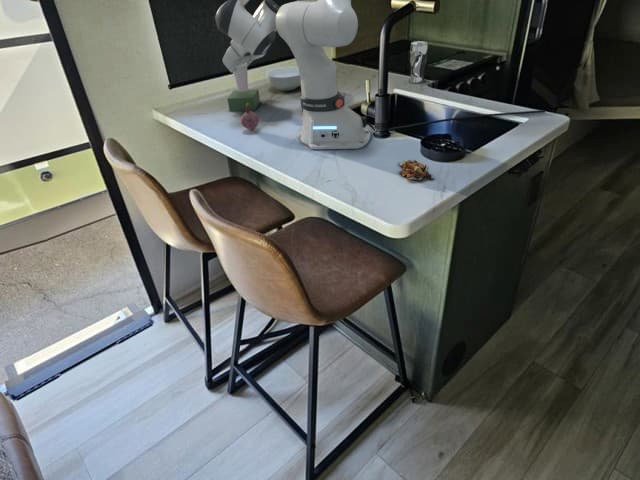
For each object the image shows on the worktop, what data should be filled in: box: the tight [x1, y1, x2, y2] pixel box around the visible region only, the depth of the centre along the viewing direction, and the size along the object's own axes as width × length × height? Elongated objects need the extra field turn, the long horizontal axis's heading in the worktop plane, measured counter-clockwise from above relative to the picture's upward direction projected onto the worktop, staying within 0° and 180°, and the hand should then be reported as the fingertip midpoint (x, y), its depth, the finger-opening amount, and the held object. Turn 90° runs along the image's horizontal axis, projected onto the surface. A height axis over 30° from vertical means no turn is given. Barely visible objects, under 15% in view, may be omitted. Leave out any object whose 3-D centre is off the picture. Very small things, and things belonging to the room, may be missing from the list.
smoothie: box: [232, 63, 249, 92], centre depth 162 cm, size 6×6×14 cm
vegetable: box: [240, 103, 260, 132], centre depth 146 cm, size 6×6×10 cm
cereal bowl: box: [265, 66, 301, 92], centre depth 184 cm, size 17×17×7 cm
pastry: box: [399, 158, 434, 181], centre depth 117 cm, size 7×12×4 cm, turn 16°
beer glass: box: [408, 40, 429, 84], centre depth 178 cm, size 7×7×15 cm
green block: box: [227, 88, 261, 112], centre depth 168 cm, size 10×10×5 cm
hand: (238, 68), depth 162 cm, fingers closed on smoothie, 6 cm apart
